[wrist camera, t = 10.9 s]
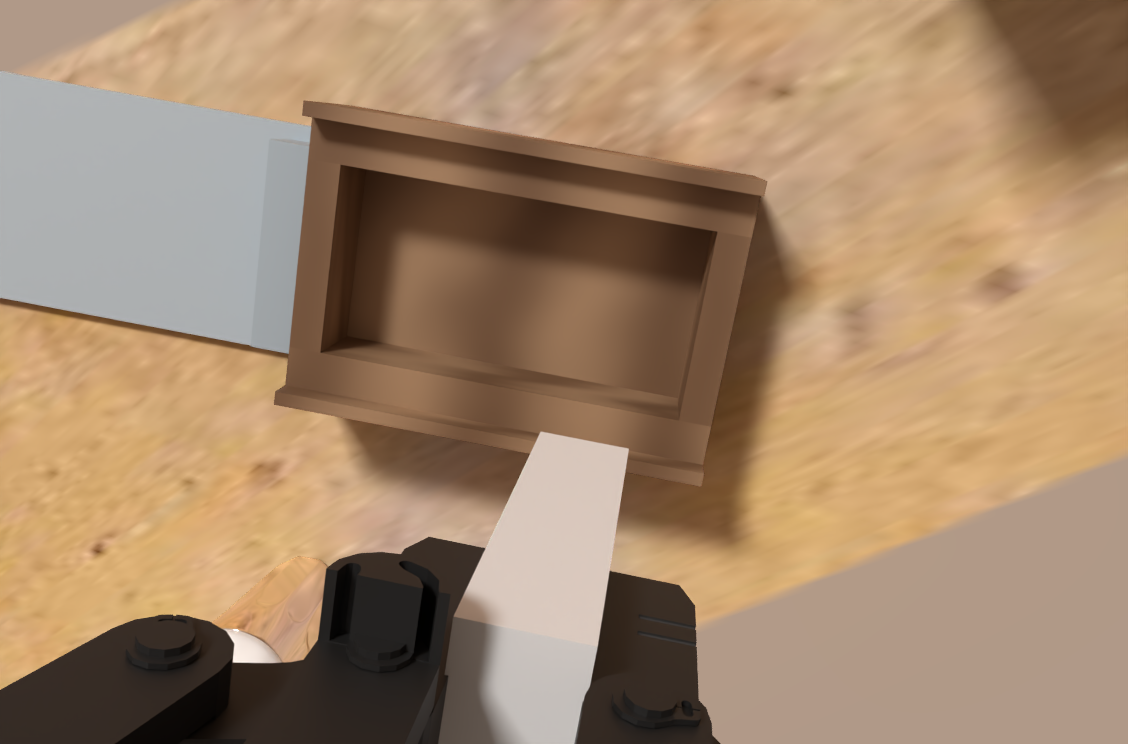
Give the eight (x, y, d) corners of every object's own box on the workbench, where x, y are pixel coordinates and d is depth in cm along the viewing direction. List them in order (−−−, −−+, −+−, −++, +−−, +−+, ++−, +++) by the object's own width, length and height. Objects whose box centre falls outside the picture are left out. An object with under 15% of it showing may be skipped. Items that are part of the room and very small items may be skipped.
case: (753, 175, 37) (767, 181, 33) (696, 444, 40) (701, 486, 35) (349, 105, 38) (303, 100, 33) (319, 372, 41) (274, 404, 36)
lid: (350, 132, 39) (323, 132, 36) (325, 352, 41) (298, 370, 38) (-29, 65, 40) (-87, 59, 37) (-33, 284, 42) (-88, 296, 39)
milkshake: (273, 656, 44) (165, 801, 35) (247, 547, 43) (127, 665, 34) (369, 647, 44) (286, 791, 34) (345, 536, 43) (252, 653, 33)
